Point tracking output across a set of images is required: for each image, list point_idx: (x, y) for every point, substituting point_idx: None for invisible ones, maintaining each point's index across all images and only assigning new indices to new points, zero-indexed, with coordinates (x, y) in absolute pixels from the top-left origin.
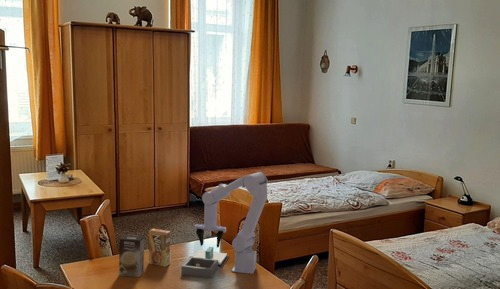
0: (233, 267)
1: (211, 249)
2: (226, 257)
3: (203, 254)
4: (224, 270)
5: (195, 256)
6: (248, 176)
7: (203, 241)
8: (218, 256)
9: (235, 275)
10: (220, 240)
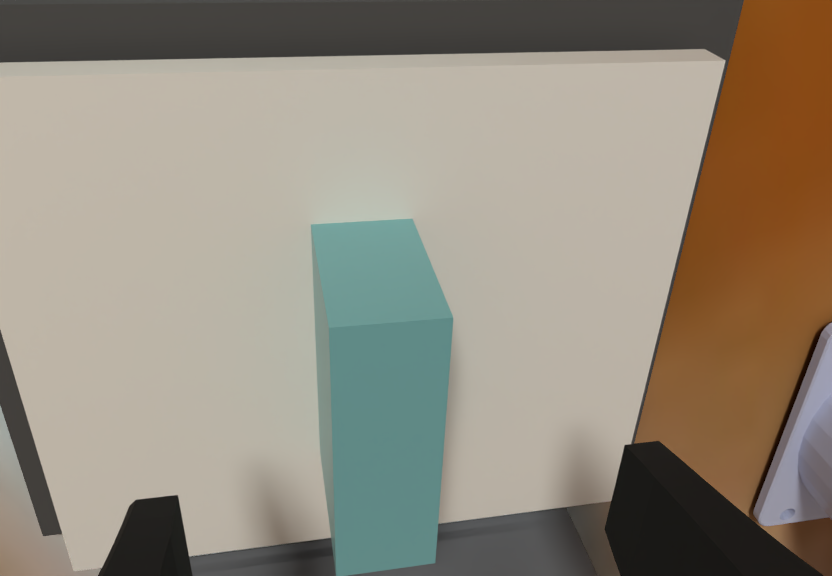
0: (786, 447)
1: (442, 459)
2: None
3: (199, 298)
4: None
5: (86, 442)
6: None
7: (167, 554)
8: (547, 283)
9: None
10: (781, 557)
